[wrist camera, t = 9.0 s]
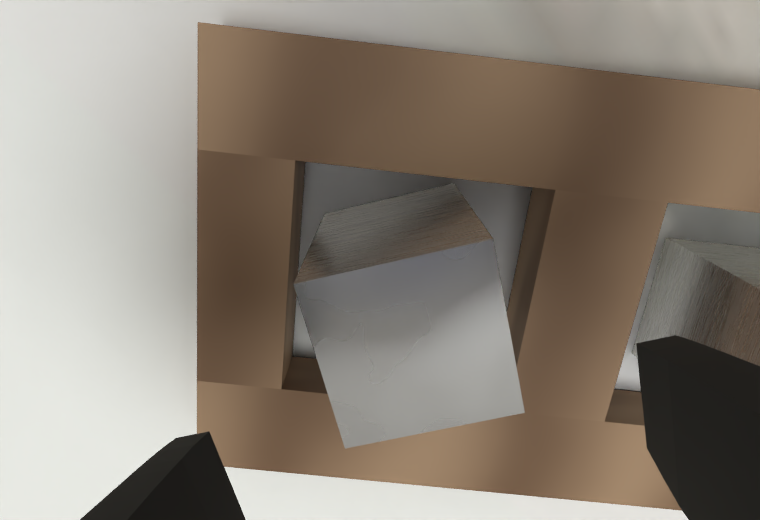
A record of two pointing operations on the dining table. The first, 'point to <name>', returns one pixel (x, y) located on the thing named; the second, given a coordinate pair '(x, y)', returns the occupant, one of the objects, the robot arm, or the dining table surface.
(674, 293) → the block
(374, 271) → the steel billet
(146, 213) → the dining table surface
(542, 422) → the brown board with cutouts
